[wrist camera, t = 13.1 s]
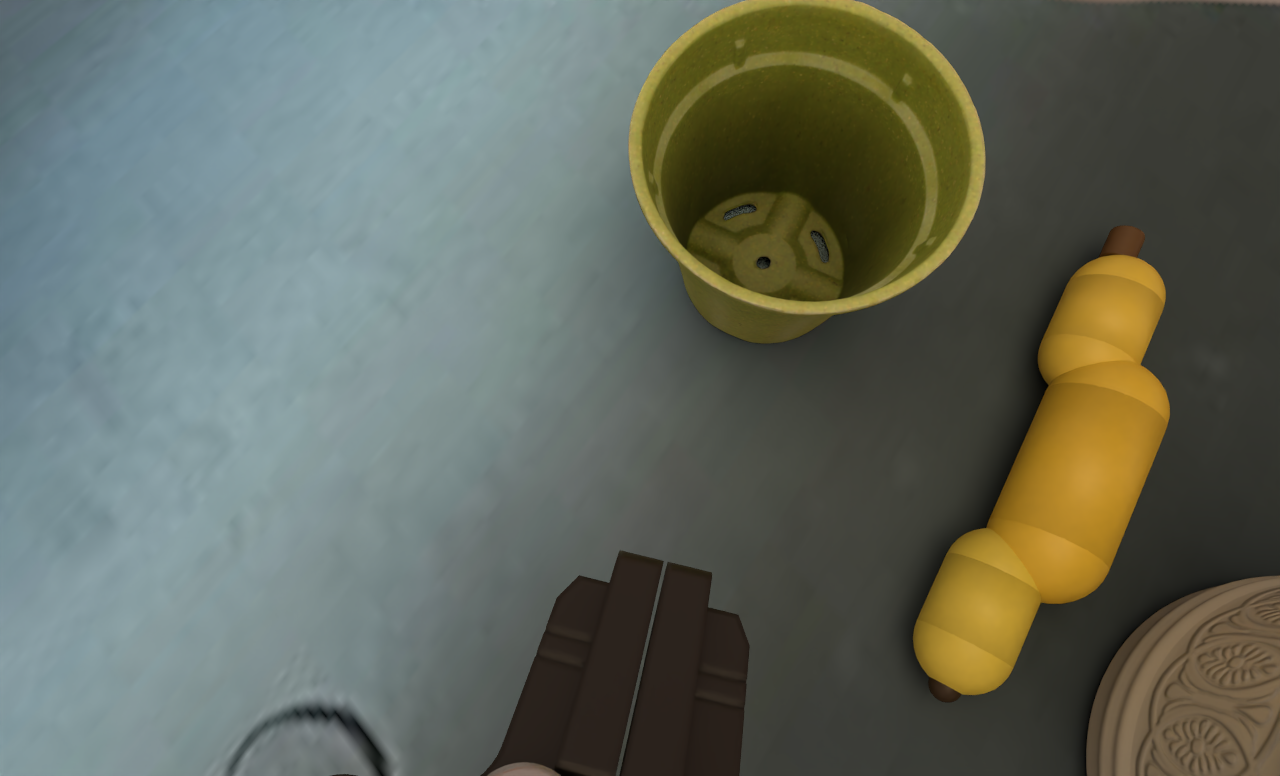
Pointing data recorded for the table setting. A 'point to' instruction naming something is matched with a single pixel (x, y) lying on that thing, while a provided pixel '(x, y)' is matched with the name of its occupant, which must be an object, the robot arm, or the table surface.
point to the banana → (1057, 478)
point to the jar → (1195, 689)
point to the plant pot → (804, 161)
